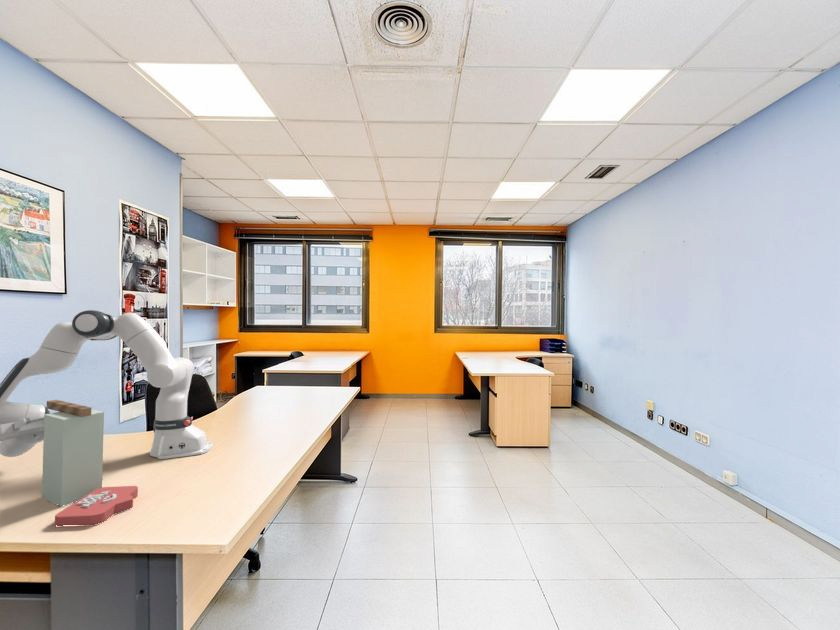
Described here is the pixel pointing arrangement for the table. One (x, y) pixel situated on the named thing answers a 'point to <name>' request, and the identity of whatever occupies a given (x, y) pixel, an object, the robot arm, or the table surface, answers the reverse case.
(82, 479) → the pedestal
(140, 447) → the table surface
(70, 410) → the rod
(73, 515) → the plaque
